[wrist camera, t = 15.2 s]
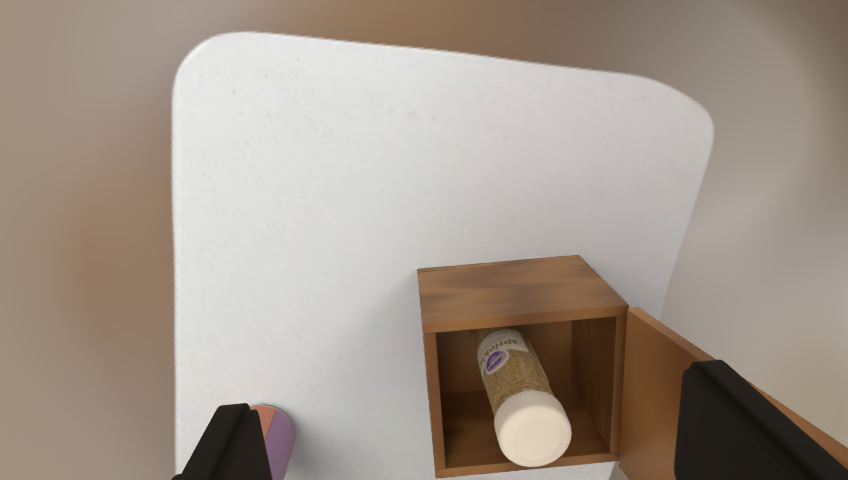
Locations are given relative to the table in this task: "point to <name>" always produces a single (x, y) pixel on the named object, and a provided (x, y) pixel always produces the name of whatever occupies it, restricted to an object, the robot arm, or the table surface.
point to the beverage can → (276, 438)
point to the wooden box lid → (669, 400)
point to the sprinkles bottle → (520, 397)
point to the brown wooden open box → (552, 343)
